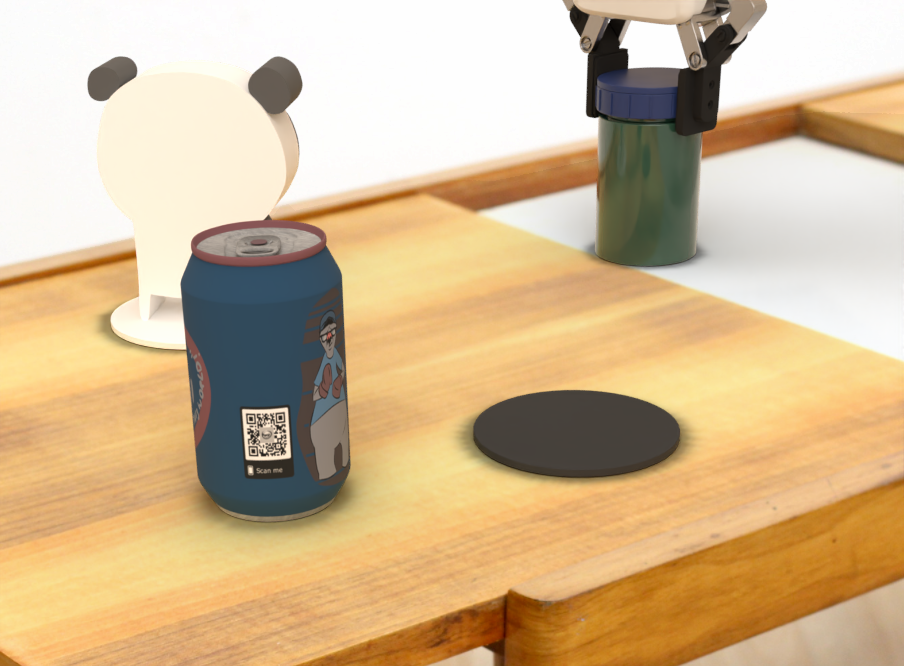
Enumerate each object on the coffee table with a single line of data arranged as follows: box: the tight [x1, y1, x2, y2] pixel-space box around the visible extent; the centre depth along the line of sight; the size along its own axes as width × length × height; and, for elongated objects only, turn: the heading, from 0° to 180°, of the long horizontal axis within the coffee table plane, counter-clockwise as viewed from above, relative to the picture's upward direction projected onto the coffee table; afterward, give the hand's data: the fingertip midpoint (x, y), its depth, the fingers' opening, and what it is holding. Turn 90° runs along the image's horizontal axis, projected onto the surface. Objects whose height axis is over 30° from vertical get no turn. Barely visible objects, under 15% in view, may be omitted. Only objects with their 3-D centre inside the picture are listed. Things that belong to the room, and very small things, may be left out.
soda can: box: [180, 219, 352, 523], centre depth 68 cm, size 7×7×12 cm
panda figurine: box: [86, 55, 304, 351], centre depth 90 cm, size 12×11×15 cm
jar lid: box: [595, 66, 682, 119], centre depth 98 cm, size 7×7×2 cm
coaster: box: [472, 389, 681, 478], centre depth 76 cm, size 10×10×1 cm
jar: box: [594, 112, 704, 267], centre depth 100 cm, size 7×7×11 cm
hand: (649, 120), depth 99 cm, fingers closed on jar lid, 6 cm apart
